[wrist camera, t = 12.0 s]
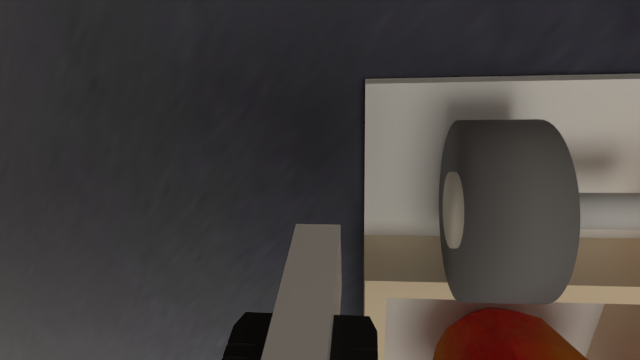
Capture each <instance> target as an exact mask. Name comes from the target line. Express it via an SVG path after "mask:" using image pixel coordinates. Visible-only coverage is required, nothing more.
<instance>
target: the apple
mask: <svg viewBox="0 0 640 360" xmlns="http://www.w3.org/2000/svg"><path fill="white" fill-rule="evenodd" d="M433 360H588V359H587V358H586V357H585V356H583V355H582V354H581V353H580V352H579V351H578V350H576V349H575V348H574V347H573V346H572V345H571V344H570V343H569V342H567V341H566V340H565V339H564V338H563V337H562V336H561V335H560V334H558V333H557V332H556V331H555V330H554V329H553V328H552V327H551V326H550V325H548V324H547V323H546V322H545V321H544V320H543V319H542V318H539V317H535V316H532V315H529V314H525V313H522V312H518V311H512V310H506V309H497V308H486V309H482V310H477V311H474V312H472V313H470V314H468V315H466V316H464V317H463V318H461V319H460V320H458V321H457V322H455V323H454V324H452V325H451V326H449V327H448V328H447V329H446V330H445V332H444V333H443V335H442V336H441V338H440V339H439V341H438V343H437V344H436V348H435V352H434V357H433Z"/></svg>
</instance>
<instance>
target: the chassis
mask: <svg viewBox="0 0 640 360" xmlns="http://www.w3.org/2000/svg"><path fill="white" fill-rule="evenodd" d="M515 119H542V120H546V121H548V122H550V123H551V124H552V125H554V126H555V127H556V129H557V130H558V131H559V132H560V134H561V135H562V137H563V139H564V140H565V143H566V145H567V147H568V149H569V152H570V155H571V157H572V160H573V164H574V168H575V172H576V177H577V183H578V190H579V193H640V74H590V75H540V76H489V77H438V78H387V79H365V176H364V312H363V316H370V318H371V320H372V322H373V324H374V326H375V328H376V330H377V336H378V360H433V357H434V352H435V348H436V344H437V343H438V341H439V339H440V338H441V336H442V335H443V333H444V332H445V330H446V329H447V328H448V327H449V326H451V325H452V324H454V323H455V322H457V321H458V320H460V319H461V318H463V317H464V316H466V315H468V314H470V313H472V312H474V311H477V310H482V309H486V308H497V309H506V310H512V311H518V312H522V313H525V314H529V315H532V316H535V317H539V318H542V319H543V320H544V321H545V322H546V323H547V324H548V325H550V326H551V327H552V328H553V329H554V330H555V331H556V332H557V333H558V334H560V335H561V336H562V337H563V338H564V339H565V340H566V341H567V342H569V343H570V344H571V345H572V346H573V347H574V348H575V349H576V350H578V351H579V352H580V353H581V354H582V355H583V356H585V357H586V358H587V359H588V360H640V230H604V229H580V237H579V246H578V252H577V258H576V262H575V266H574V270H573V273H572V276H571V279H570V281H569V283H568V285H567V287H566V289H565V291H564V292H563V293H562V295H561V296H560V297H559V298H558V299H557V300H556V301H554V302H553V303H551V304H546V305H540V304H503V303H466V302H458V301H457V300H455V298H454V297H453V295H452V293H451V291H450V288H449V285H448V282H447V278H446V274H445V269H444V264H443V258H442V250H441V240H440V227H439V185H440V171H441V162H442V155H443V150H444V145H445V141H446V137H447V134H448V131H449V129H450V127H451V125H452V124H453V123H454V122H455V121H457V120H515Z"/></svg>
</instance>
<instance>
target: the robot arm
mask: <svg viewBox="0 0 640 360" xmlns="http://www.w3.org/2000/svg"><path fill="white" fill-rule="evenodd" d="M341 291H342V274H341V232H340V225H327V224H296V226H295V230H294V234H293V238H292V241H291V245H290V249H289V253H288V257H287V261H286V265H285V269H284V272H283V276H282V280H281V284H280V288H279V292H278V296H277V299H276V303H275V307H274V311H273V313H254V312H245V313H244V315H243V316H242V317H241V318H240V319H239V320H238V321H237V323H236V324H235V325H234V326H233V329H232V332H231V335H230V338H229V340H228V345H227V346H226V349H225V352H224V355H223V358H222V360H378V336H377V330H376V328H375V326H374V324H373V322H372V320H371V318H370V316H351V315H340V304H341Z"/></svg>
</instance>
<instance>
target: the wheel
mask: <svg viewBox="0 0 640 360" xmlns="http://www.w3.org/2000/svg"><path fill="white" fill-rule="evenodd" d="M439 227H440V240H441V250H442V258H443V264H444V269H445V274H446V278H447V282H448V285H449V288H450V291H451V293H452V295H453V297H454V298H455V300H457V301H458V302H466V303H503V304H540V305H546V304H551V303H553V302H554V301H556V300H557V299H558V298H559V297H560V296H561V295H562V293H563V292H564V291H565V289H566V287H567V285H568V283H569V281H570V279H571V276H572V273H573V270H574V266H575V262H576V258H577V252H578V246H579V237H580V229H604V230H640V193H579V190H578V183H577V177H576V172H575V168H574V164H573V160H572V157H571V155H570V152H569V149H568V147H567V145H566V143H565V140H564V139H563V137H562V135H561V134H560V132H559V131H558V130H557V129H556V127H555V126H554V125H552V124H551V123H550V122H548V121H546V120H542V119H515V120H457V121H455V122H454V123H453V124H452V125H451V127H450V129H449V131H448V134H447V137H446V141H445V145H444V150H443V155H442V162H441V171H440V185H439Z"/></svg>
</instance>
